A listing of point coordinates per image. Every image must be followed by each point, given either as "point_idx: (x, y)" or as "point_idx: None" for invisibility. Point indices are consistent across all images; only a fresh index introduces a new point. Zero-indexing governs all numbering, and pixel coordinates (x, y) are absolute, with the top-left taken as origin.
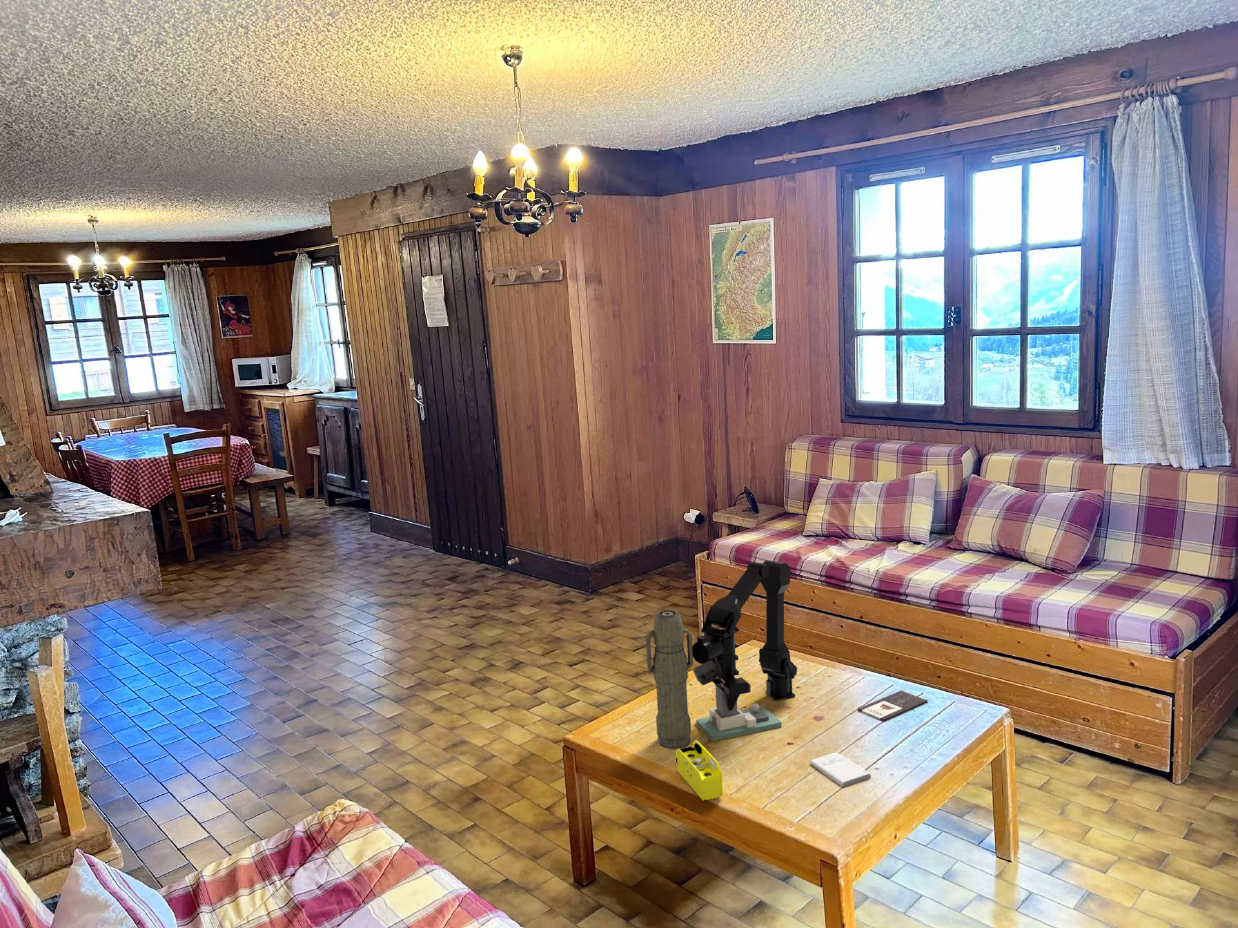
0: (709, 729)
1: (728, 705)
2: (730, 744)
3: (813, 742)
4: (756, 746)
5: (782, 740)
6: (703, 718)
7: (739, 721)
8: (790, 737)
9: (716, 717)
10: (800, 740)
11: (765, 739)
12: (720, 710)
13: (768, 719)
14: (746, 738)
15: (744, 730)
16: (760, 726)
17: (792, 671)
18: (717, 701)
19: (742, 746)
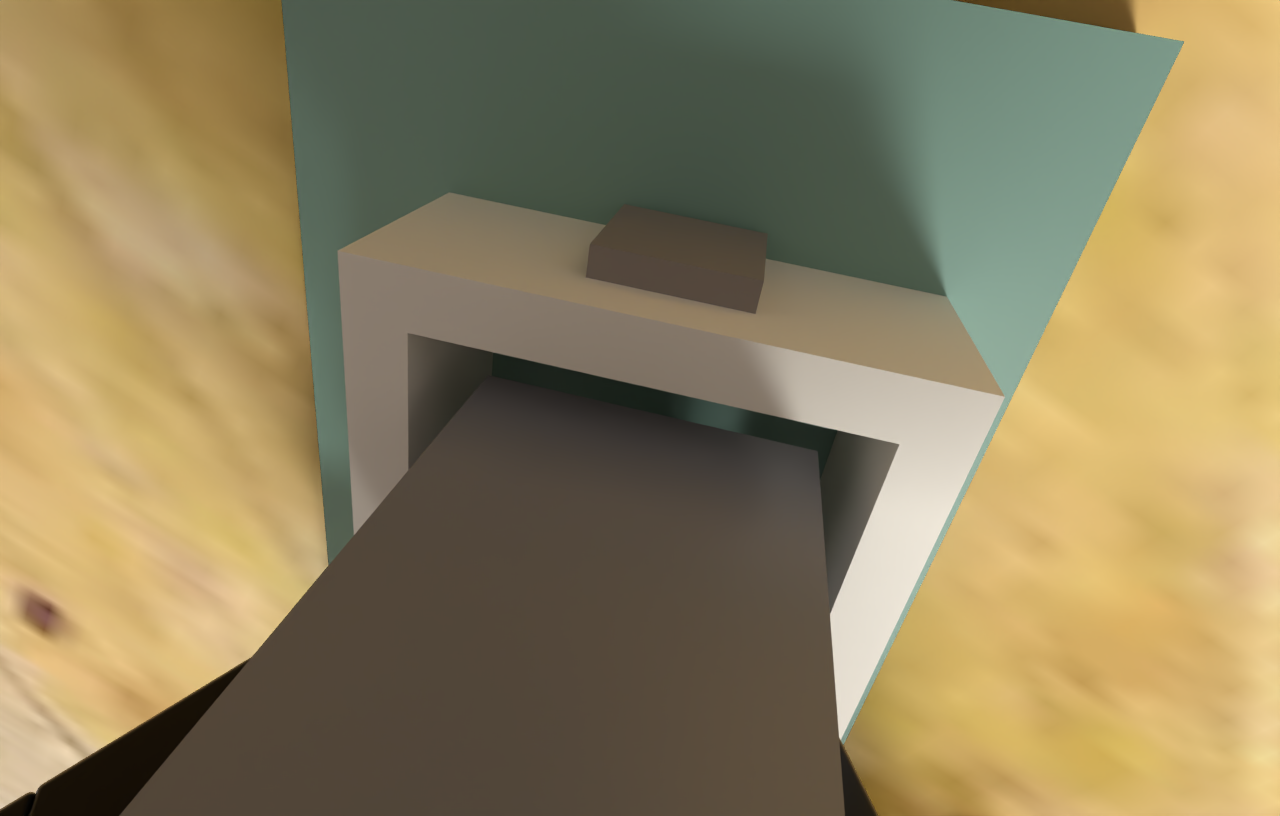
0: (584, 27)
1: (237, 666)
2: (136, 107)
3: (31, 727)
4: (25, 354)
5: (109, 609)
6: (1079, 218)
7: None
8: (149, 682)
9: (560, 284)
10: (80, 694)
11: (165, 521)
12: (568, 476)
13: None
14: (245, 390)
15: (326, 469)
16: None
17: None
18: (714, 650)
19: (50, 217)
